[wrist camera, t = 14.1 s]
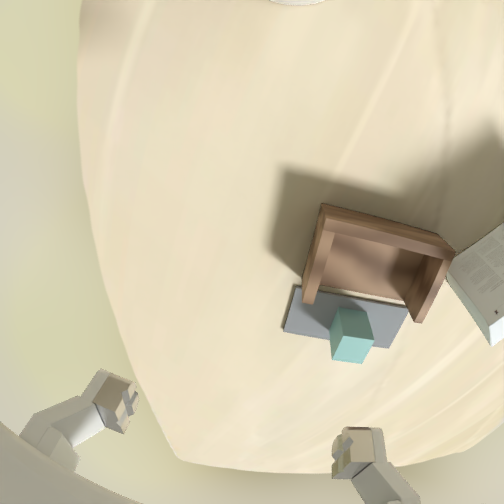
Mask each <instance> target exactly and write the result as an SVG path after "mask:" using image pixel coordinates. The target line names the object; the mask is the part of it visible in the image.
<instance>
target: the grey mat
mask: <svg viewBox="0 0 504 504" xmlns="http://www.w3.org/2000/svg"><path fill="white" fill-rule="evenodd" d="M338 307H341V308H347V309H352V310H358V311H363V312H367V315H368V318H369V322H370V325H371V329H372V332H373V336H374V340H375V341H374V343H373V344H372V346H373V347H381V348H389V347H390V345H391V343H392V342H393V340H394V338H395V336H396V334H397V333H398V331H399V329H400V327H401V325H402V323H403V321H404V319H405V318H406V316H407V314H408V312H409V311H408V309H407V307H404V306H398V305H393V304H387V303H382V302H376V301H371V300H366V299H360V298H355V297H350V296H345V295H339V294H334V293H329V292H324V291H319V290H318V291H317V294H316V297H315V300H314V303H313V305H311V304H306V303H302V287H299V286H296V289H295V292H294V296H293V299H292V303H291V306H290V309H289V313H288V316H287V320H286V323H285V326H284V329H283V332H287V333H293V334H298V335H303V336H309V337H315V338H321V339H327V340H330V335H329V329H330V327H331V324H332V322H333V320H334V317H335V314H336V312H337V309H338Z"/></svg>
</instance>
